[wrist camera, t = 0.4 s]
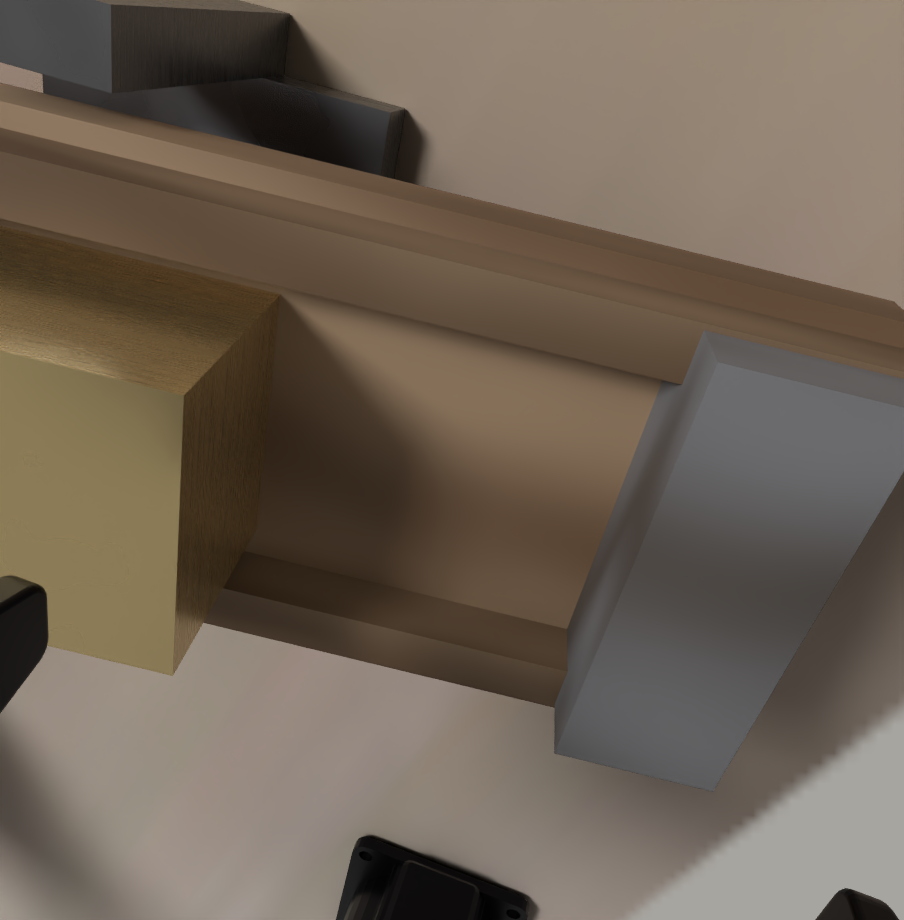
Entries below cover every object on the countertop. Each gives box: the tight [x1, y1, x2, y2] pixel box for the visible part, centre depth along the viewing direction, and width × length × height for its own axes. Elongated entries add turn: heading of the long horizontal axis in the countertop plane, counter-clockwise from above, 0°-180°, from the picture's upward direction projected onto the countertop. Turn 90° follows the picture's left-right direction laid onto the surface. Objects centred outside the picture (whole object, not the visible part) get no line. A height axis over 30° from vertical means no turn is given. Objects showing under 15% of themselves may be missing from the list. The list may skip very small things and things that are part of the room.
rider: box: [0, 226, 281, 676], centre depth 13 cm, size 5×5×4 cm
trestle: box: [0, 0, 405, 179], centre depth 17 cm, size 12×8×6 cm, turn 168°
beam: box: [0, 83, 904, 792], centre depth 14 cm, size 9×28×4 cm, turn 78°
